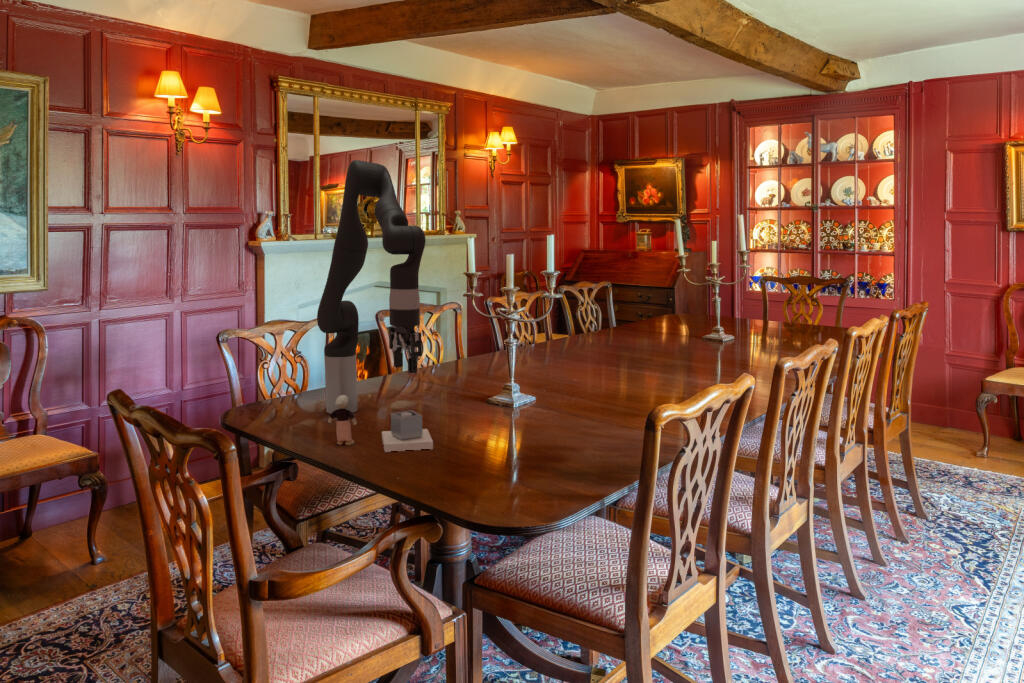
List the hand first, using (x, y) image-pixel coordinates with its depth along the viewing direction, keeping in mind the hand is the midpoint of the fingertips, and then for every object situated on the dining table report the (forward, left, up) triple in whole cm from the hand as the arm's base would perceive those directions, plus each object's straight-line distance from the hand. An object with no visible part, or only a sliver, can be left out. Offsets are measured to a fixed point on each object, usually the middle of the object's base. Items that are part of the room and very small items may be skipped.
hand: (405, 369), depth 191 cm
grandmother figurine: (-4, -16, -20) cm, 26 cm away
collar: (0, 0, -17) cm, 17 cm away
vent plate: (0, 0, -19) cm, 19 cm away
